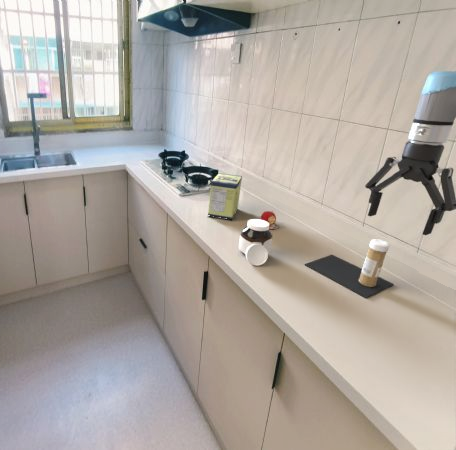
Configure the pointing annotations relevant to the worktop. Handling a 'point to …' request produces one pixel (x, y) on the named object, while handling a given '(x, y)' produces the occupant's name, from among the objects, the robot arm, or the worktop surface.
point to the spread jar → (256, 241)
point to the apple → (269, 219)
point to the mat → (346, 275)
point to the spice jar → (373, 262)
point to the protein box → (224, 195)
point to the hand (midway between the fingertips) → (397, 224)
